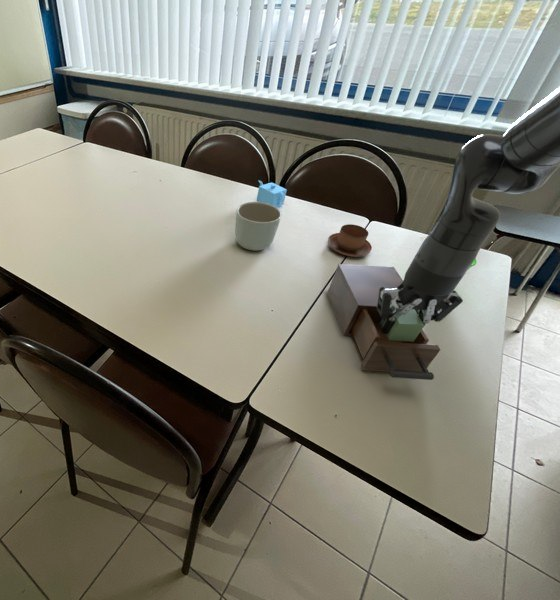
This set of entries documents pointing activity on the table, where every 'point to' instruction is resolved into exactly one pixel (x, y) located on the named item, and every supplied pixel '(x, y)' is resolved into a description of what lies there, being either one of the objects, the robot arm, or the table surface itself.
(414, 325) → the block
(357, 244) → the cup and saucer
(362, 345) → the drawer
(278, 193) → the teapot
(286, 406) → the table surface
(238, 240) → the planter
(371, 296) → the cabinet
